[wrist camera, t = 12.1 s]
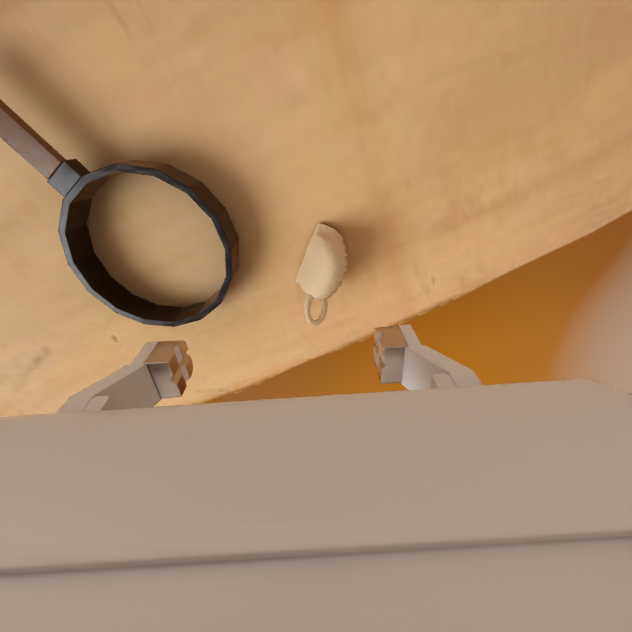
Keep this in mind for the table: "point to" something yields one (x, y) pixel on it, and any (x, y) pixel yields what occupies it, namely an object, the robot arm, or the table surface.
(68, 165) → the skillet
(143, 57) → the table surface
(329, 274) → the decorative ornament
